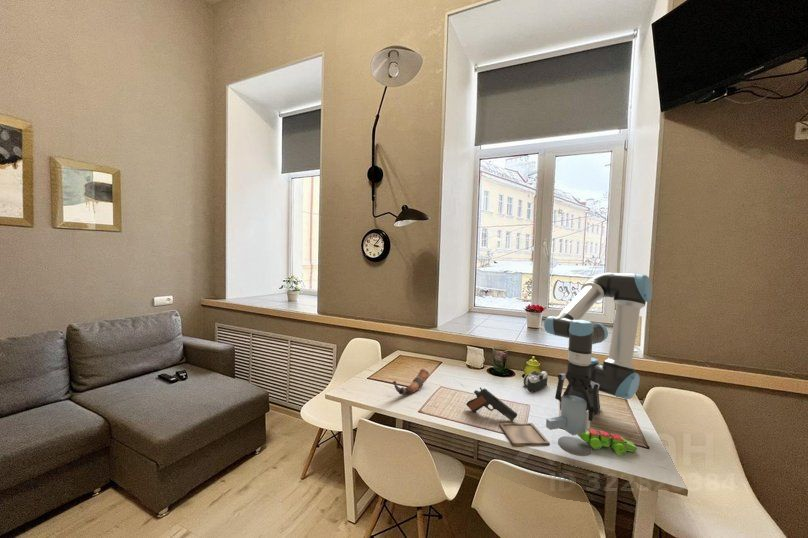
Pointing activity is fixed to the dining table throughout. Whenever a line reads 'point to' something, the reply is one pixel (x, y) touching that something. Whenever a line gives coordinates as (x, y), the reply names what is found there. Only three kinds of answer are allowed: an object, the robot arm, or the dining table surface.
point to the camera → (535, 381)
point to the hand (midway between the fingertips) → (575, 423)
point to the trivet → (574, 445)
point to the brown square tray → (523, 434)
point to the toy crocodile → (607, 441)
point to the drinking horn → (413, 383)
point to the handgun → (487, 398)
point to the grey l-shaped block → (570, 416)
